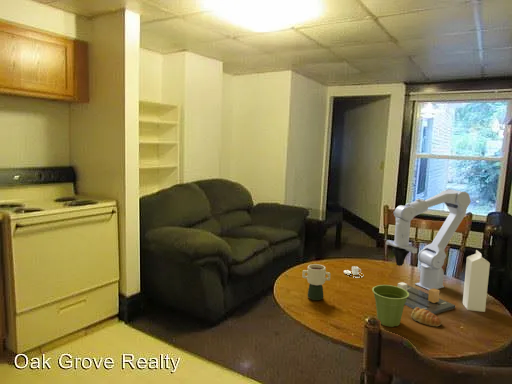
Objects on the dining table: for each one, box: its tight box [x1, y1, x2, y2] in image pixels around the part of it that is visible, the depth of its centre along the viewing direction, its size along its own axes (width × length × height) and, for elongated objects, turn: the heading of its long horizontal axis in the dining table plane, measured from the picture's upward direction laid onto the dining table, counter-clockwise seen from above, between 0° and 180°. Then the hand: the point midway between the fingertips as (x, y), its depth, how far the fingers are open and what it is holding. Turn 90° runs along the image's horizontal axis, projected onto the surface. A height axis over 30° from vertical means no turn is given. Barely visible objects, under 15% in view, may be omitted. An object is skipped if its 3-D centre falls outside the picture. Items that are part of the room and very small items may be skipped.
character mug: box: [301, 263, 331, 301], centre depth 142 cm, size 11×7×13 cm, turn 78°
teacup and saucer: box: [343, 265, 364, 279], centre depth 171 cm, size 9×8×4 cm
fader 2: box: [428, 288, 441, 303], centre depth 139 cm, size 3×2×4 cm
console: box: [404, 285, 456, 315], centre depth 143 cm, size 15×22×1 cm
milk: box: [462, 249, 491, 313], centre depth 136 cm, size 6×6×22 cm
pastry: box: [410, 307, 443, 327], centre depth 126 cm, size 9×7×4 cm
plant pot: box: [372, 284, 409, 328], centre depth 124 cm, size 12×12×11 cm
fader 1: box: [397, 281, 409, 291], centre depth 145 cm, size 3×2×4 cm
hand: (399, 265), depth 154 cm, fingers closed
